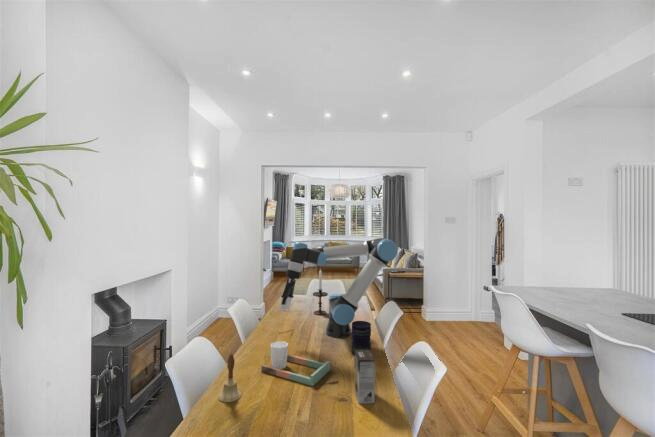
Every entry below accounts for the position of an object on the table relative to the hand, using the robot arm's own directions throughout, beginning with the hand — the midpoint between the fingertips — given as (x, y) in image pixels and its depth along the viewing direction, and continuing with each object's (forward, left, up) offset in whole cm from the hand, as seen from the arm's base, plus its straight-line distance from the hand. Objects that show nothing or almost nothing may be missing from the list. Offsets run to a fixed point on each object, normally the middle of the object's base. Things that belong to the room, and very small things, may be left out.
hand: (284, 310), depth 165 cm
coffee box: (-35, +48, -20) cm, 62 cm away
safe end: (-14, +30, -20) cm, 38 cm away
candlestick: (-21, -60, -20) cm, 67 cm away
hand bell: (+16, +46, -20) cm, 52 cm away
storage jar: (-40, +9, -20) cm, 45 cm away
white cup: (0, +22, -20) cm, 29 cm away
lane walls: (0, +22, -20) cm, 29 cm away
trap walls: (-7, +26, -20) cm, 33 cm away
